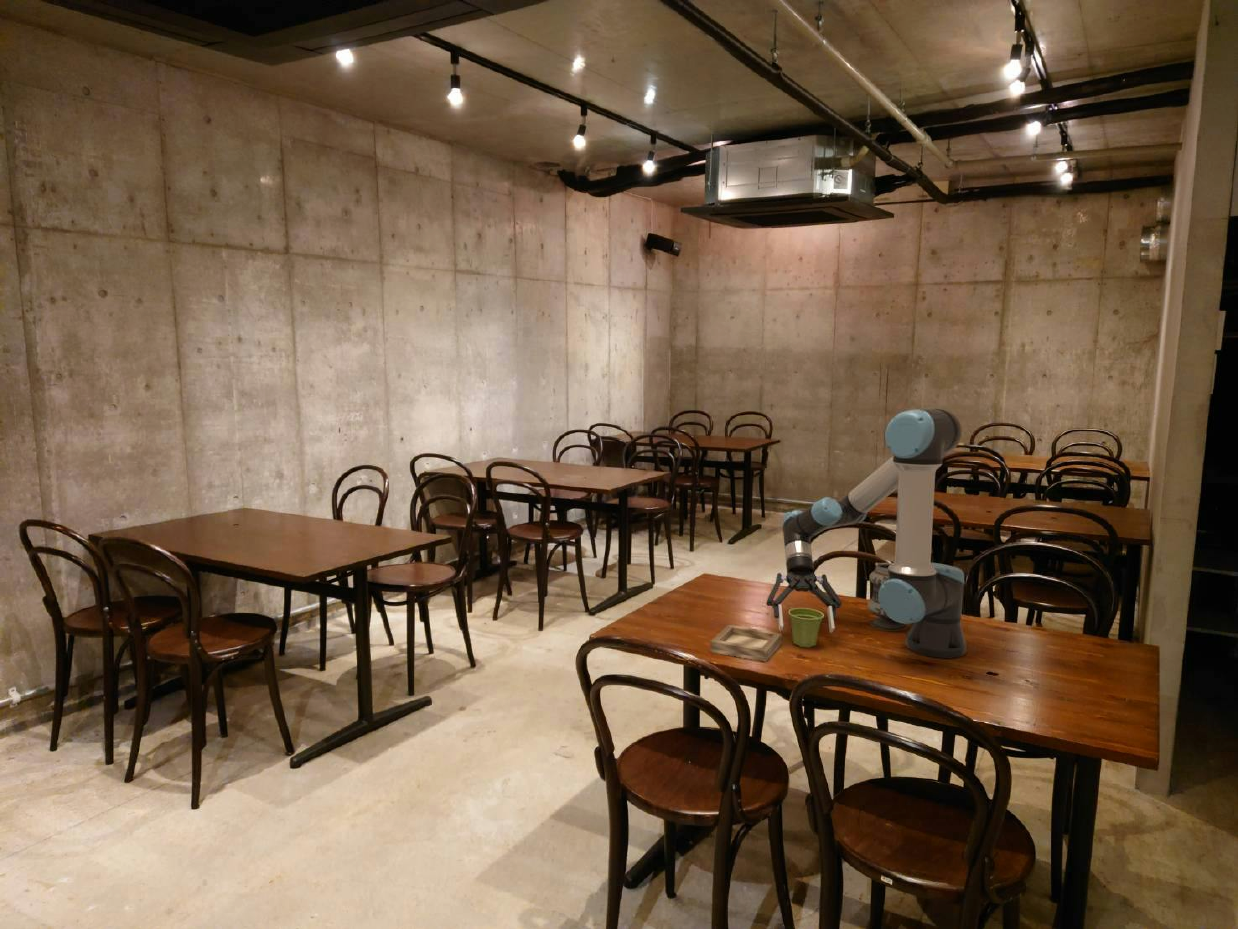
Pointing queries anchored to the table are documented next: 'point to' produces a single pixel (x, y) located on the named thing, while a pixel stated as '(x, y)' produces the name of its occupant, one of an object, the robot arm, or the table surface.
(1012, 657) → the table surface
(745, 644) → the wooden tray
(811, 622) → the plant pot
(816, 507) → the robot arm
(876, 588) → the apothecary jar
